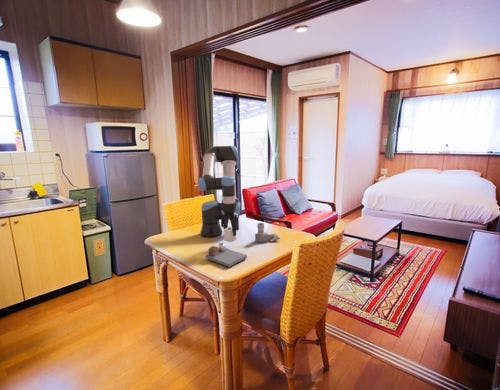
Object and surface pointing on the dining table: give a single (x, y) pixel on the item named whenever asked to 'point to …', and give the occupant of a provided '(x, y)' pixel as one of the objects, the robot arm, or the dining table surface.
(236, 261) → the grey flat block
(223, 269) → the dining table surface
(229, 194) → the robot arm
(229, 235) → the plastic part
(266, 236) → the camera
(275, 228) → the dining table surface
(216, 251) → the walnut part
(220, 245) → the metal part
